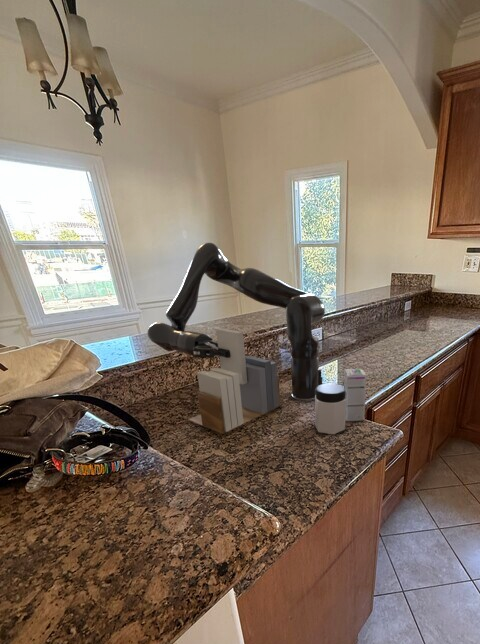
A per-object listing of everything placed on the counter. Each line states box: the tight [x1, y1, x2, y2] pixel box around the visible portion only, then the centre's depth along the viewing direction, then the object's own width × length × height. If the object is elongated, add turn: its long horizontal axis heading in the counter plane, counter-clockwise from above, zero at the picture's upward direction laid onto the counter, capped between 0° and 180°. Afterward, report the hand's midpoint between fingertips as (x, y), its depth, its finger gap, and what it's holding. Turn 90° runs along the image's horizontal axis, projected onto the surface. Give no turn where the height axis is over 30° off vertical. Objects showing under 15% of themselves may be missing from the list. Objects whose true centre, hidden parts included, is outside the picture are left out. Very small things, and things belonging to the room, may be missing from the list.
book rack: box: [188, 374, 282, 435], centre depth 106 cm, size 24×15×11 cm, turn 145°
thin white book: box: [215, 327, 248, 385], centre depth 103 cm, size 2×9×15 cm, turn 55°
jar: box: [314, 382, 346, 435], centre depth 98 cm, size 9×8×12 cm
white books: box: [196, 367, 244, 433], centre depth 97 cm, size 6×9×15 cm
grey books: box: [240, 355, 280, 415], centre depth 108 cm, size 7×9×16 cm
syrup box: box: [343, 368, 367, 422], centre depth 104 cm, size 6×6×14 cm
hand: (232, 353), depth 102 cm, fingers closed on thin white book, 2 cm apart
